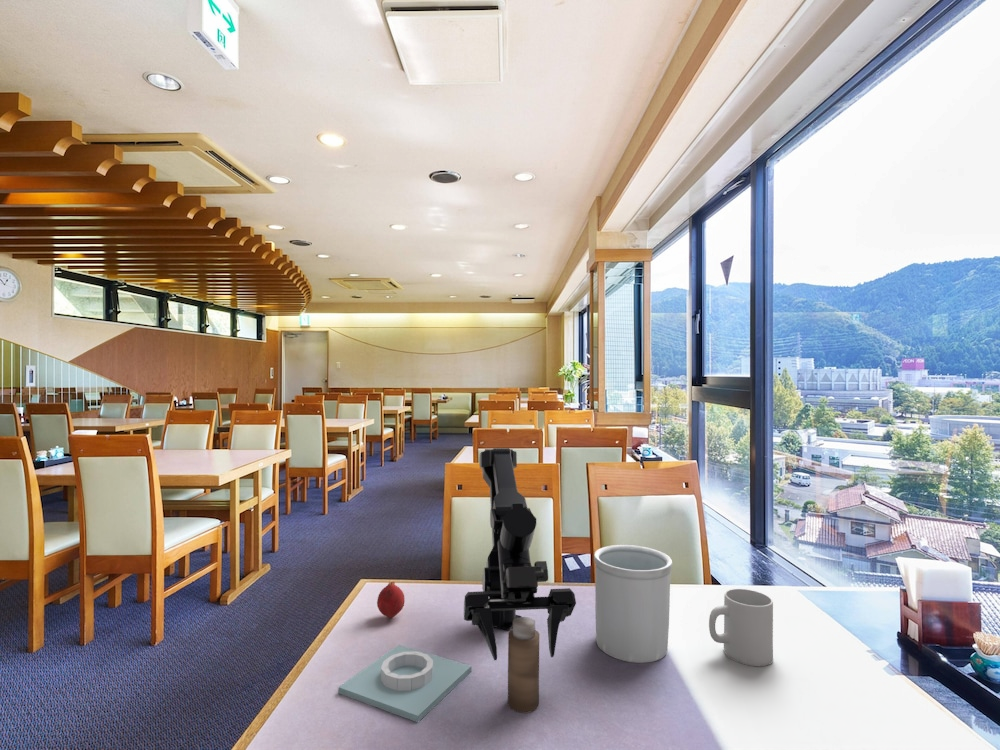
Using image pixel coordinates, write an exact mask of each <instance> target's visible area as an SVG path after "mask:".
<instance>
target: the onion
mask: <svg viewBox="0 0 1000 750" xmlns="http://www.w3.org/2000/svg"><path fill="white" fill-rule="evenodd" d="M395 583H396V582H395V581H394V580H393V579H391V580H390V581H389V582H388V584H387V585H386V586H385V587H383V588H382V589H381V590H380V592H379V594H378V596H377V601H376V604H377V608H378V610H379V612H380V613H381V614H382V615H383V616H384V617H386V618H388V619H393V618H395V616H397V615H398V614H400V612H401V611H402V610H403V608H404V606H405V602H406V601H405V593H404V591H403V590H402V589H401V588H400V587H399V586H397V585H396V584H395Z"/></svg>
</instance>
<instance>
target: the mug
mask: <svg viewBox="0 0 1000 750" xmlns="http://www.w3.org/2000/svg"><path fill="white" fill-rule="evenodd" d="M723 598H724V599H723V600H724V601H723V602H724V604H723V605H719V606H716V607H714V608H712V610H711V611H710V614H709V617H708V628H709V634H710V637H711V639H712V640H713V641H714V642H716V643H717V644H718V643H719V644H723V651H724V653H725V655H726V657H728V658H729V659H730V660H733V662H734V661H735V663H739V664H742V665H746V666H749V667H750V666H751V667H766V666H769V665H771V664H772V662H773V660H774V644H773V643H774V635H773V634H774V618H773V617H774V601H773V599H772V598H771V597H770V596H768V595H767V594H765V593H763V592H759V591H756V590H752V589H745V588H733V589H732V588H731V589H729V590H726V591H725V592H724V596H723ZM722 615H723V616H724V617H723V627H724V628H723V633H717V631H716V622H717V619H718V617H719V616H722Z"/></svg>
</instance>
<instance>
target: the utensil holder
mask: <svg viewBox="0 0 1000 750" xmlns="http://www.w3.org/2000/svg"><path fill="white" fill-rule="evenodd" d="M593 554H594V555H593V560H594V561H593V562H594V564H595V570H594V571H595V573H594V574H595V575H594V576H595V590H594V591H595V598H594V599H595V602H594V603H595V639H596V640H595V641H596V644H597V647H598V648H599V649H600V650H601V651H602V652H603V653H604V654H606V655H608V656H610V657H612V658H615V659H617V660H619V661H623V662H627V663H635V664H636V663H637V664H638V663H639V664H645V663H653V662H657V661H658V660H661V659H663V658H664V657H665V656H666V655H667V653H668V646H669V645H668V644H669V631H670V630H669V629H670V607H671V606H670V604H671V601H670V599H671V598H670V597H671V571H672V570H673V569H672V568H673V560H672V558H671V557H670V556H669V555H667V554H666V553H665V552H662V551H660V550H657V549H654V548H651V547H647V546H642V545H641V546H640V545H632V544H614V545H608V546H603V547H600V548H598V549H596V550H595V552H594V553H593Z"/></svg>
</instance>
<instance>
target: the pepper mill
mask: <svg viewBox="0 0 1000 750" xmlns="http://www.w3.org/2000/svg"><path fill="white" fill-rule="evenodd" d="M507 635H508V637H507V639H508V643H507V644H508V645H507V653H508V654H507V706H508V708H510V709H511V710H513V711H514V712H518V713H525V714H526V713H531V712H533V711H535V710H537V709H538V707H539V704H540V701H539V700H540V699H539V698H540V633H539V631H538V630H536V620H534V619H533V618H531V617H527V616H522V617H519V618H516V619H514V620H513V627H512V628H511V629H510V630H508V633H507Z"/></svg>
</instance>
